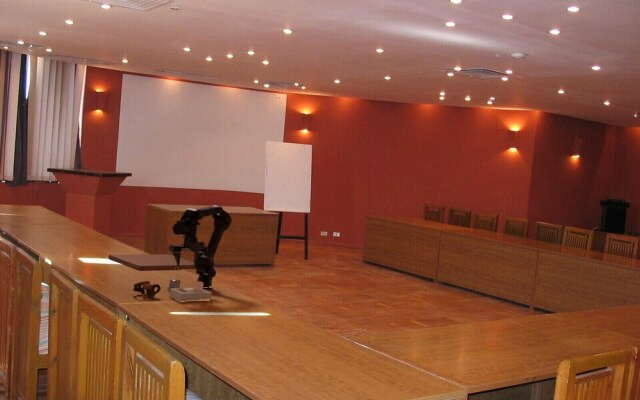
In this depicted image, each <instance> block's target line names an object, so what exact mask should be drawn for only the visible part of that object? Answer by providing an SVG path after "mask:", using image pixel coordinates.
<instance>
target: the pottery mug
mask: <svg viewBox="0 0 640 400" xmlns="http://www.w3.org/2000/svg"><path fill="white" fill-rule="evenodd" d="M156 288H157V289H156ZM161 288H162V287H161V285H160V284H158V283H156V284H151V282H150V281H149V280H145V281H140V282H137V283H134V284H133V290H132V291H133V292H137V293H140V294H141V295H142V299H143V300H146V299H147V300H148V299H154V298H153V297H155V296H156V295H157V294H159V293H160V292H161ZM155 289H156V290H155Z"/></svg>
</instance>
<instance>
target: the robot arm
mask: <svg viewBox="0 0 640 400" xmlns="http://www.w3.org/2000/svg"><path fill="white" fill-rule="evenodd" d="M204 217H212V218H213V228H214V229H213V231H212V234H211V236H210V238H209V242H208V244H207V246H205V245H206V243H205V242H204V241H198V237H197V232H198V226H201V223H200V222H199V221H201V220H202V219H203V218H204ZM232 222H233V218H232V216H231V215H230V214H229V212H227V211H226V210H225V209H223V207H222V206H220V205H216V204H215V205H214V204H213V205H211V206H206V207H200V208H195V207H187V208H186V209H185V211H184V212H183V214H182V215H181V217H180V219H178V220H176V223H174V224H173V226H172V232H173V234H174V235H177V236H182V238H183V242H182V243H181V245H179V244H170V245H169V246H168V251H170V253H172V254H173V255H172V256H174V257H175V260H176V263H177V266H179V264H180V258H181V255H182V251H190V252H192V253H194V256H193V263H194V266H196V269H195V273H196V275H198V278H197V280H196V281H200V282H203V287H209V286H211V287H212V284H213V278H215V277H216V275H217V271H216V269H215V268H214V266H215V259H214V258H215V255H216V252H217V250H218V247H219V244H220V242H221V239H222V236H224V235H223V234H224V232H225V231H227V230H228V229H229V228H230V225H231V224H232Z"/></svg>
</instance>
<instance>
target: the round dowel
mask: <svg viewBox="0 0 640 400" xmlns="http://www.w3.org/2000/svg"><path fill="white" fill-rule="evenodd" d="M180 286H181V279H178V278H171V279H169V282H168V291H169V292H170V289H174V288H181V287H180ZM169 292H168V293H169Z"/></svg>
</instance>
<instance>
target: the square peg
mask: <svg viewBox="0 0 640 400" xmlns="http://www.w3.org/2000/svg"><path fill="white" fill-rule="evenodd" d="M192 288H193V291H195V292H202V290H203V282H200V281H197V280H196V281H193V287H192Z"/></svg>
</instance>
